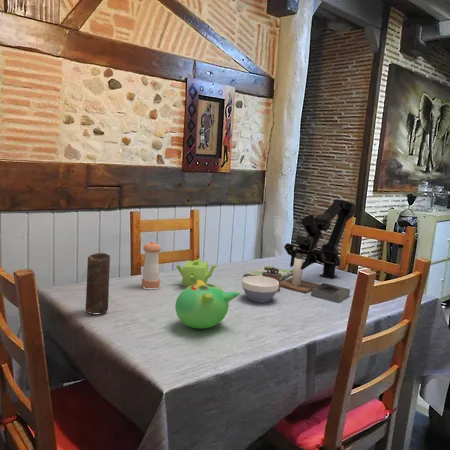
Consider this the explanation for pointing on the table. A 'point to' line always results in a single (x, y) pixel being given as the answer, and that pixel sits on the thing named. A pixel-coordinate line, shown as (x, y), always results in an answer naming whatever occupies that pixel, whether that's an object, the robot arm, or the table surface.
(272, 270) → the lighter
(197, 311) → the toy bird
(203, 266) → the kettle
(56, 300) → the table surface
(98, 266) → the candle
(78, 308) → the table surface
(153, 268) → the pepper shaker
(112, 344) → the table surface
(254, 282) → the bowl
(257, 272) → the dish towel
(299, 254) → the white bottle
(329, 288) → the housing
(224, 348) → the table surface
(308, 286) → the board
